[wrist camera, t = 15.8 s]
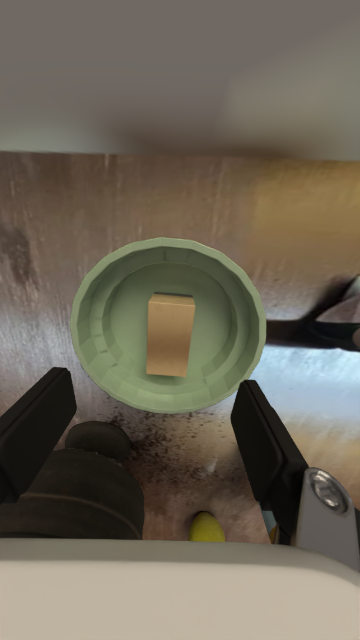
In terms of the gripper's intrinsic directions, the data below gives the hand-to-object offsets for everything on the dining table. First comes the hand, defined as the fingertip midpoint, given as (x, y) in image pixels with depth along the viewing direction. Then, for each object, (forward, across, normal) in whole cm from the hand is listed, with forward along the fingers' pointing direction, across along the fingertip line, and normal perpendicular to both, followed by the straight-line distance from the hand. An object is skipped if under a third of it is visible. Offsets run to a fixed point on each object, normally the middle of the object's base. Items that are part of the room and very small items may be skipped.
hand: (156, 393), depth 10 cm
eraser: (+10, 0, +1) cm, 11 cm away
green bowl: (+11, 0, 0) cm, 11 cm away
